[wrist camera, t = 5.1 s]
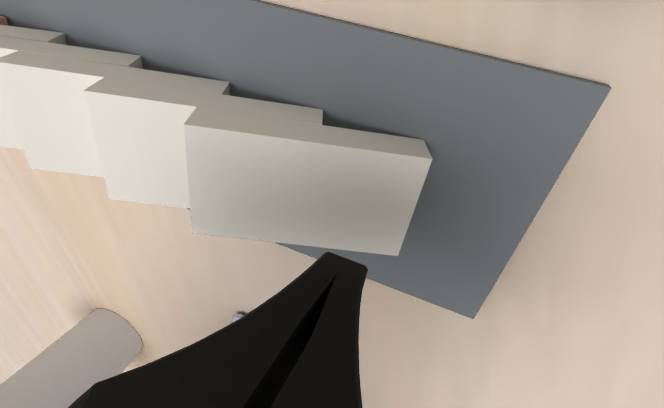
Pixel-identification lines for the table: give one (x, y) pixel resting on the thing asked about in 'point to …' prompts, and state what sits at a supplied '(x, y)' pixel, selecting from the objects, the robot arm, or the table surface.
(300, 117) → the domino
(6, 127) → the domino
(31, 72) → the domino
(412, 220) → the felt mat
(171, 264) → the table surface
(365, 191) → the domino
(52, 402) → the drinking glass
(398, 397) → the table surface
